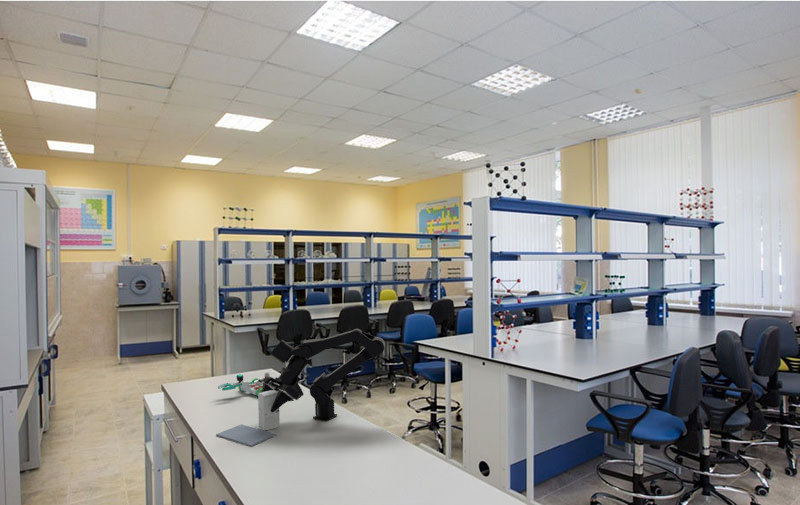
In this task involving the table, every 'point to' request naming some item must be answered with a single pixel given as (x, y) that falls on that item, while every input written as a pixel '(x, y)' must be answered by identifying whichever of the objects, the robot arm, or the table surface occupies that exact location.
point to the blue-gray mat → (246, 435)
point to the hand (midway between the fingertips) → (265, 408)
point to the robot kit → (246, 385)
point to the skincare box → (267, 410)
